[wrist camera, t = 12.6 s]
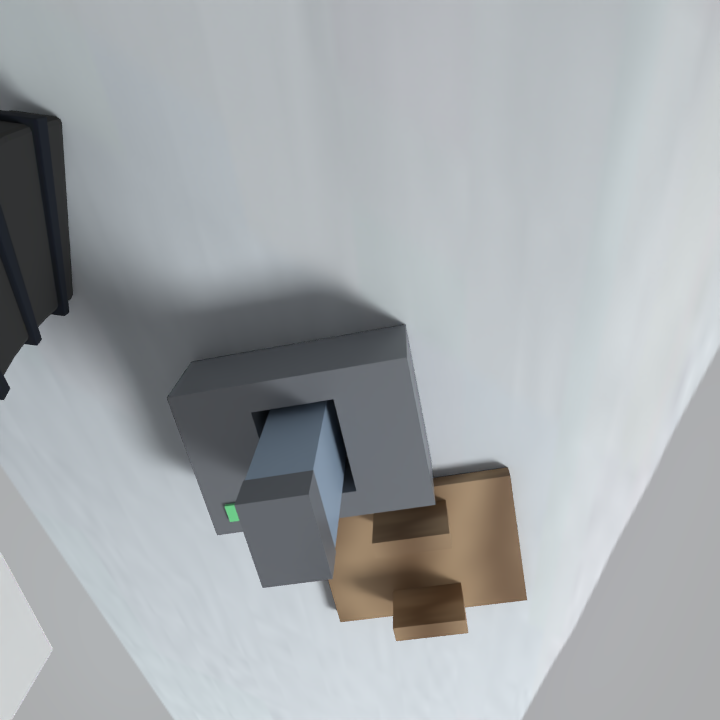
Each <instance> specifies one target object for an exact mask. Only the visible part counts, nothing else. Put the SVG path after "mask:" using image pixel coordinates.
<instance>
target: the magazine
mask: <svg viewBox="0 0 720 720" xmlns="http://www.w3.org/2000/svg"><path fill="white" fill-rule="evenodd" d="M72 295H73V289H72V274H71V258H70V243H69V227H68V212H67V196H66V181H65V166H64V150H63V135H62V122H61V120H60V119H59V118H57V117H55V116H49V115H41V114H34V113H26V112H19V111H2V110H0V400H4V399H5V397H6V395H7V394H8V392H9V390H10V387H9V385H8V383H7V381H6V379H5V378H4V374H5V372H6V371H7V369H8V367H9V365H10V364H11V362H12V360H13V358H14V357H15V355H16V354H17V353H18V351H19V350H20V349H21V347H22V346H23V345H24V344H29V345H38V344H39V343H40V341H41V340H42V338H41V335H40V332H39V329H38V327H39V326H40V324H41V323H42V322H43V321H44V320H45V319H46V318H47V317H48V316H50V315H51V314H53V315H61V316H65V315H67V314H68V313H69V305H68V300H70V299H71V298H72Z"/></svg>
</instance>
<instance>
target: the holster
mask: <svg viewBox="0 0 720 720" xmlns="http://www.w3.org/2000/svg"><path fill="white" fill-rule="evenodd" d="M433 483H434V494H435V504H436V505H431V506H423V507H416V508H409V509H402V510H395V511H387V512H380V513H373V514H366V515H359V516H351V517H344V518H339V521H338V529H337V538H336V546H335V549H336V556H335V564H334V573H333V579H329V580H328V581H329V584H330V588H331V591H332V595H333V598H334V602H335V605H336V608H337V612H338V615H339V619H340V622H346V621H354V620H363V619H371V618H380V617H388V616H393V630H394V634H395V638H396V641H402V640H411V639H420V638H428V637H437V636H446V635H455V634H464V633H468V627H467V619H466V612H465V607H473V606H481V605H489V604H498V603H506V602H515V601H523V600H527V596H526V589H525V582H524V574H523V567H522V559H521V552H520V544H519V537H518V530H517V522H516V515H515V507H514V500H513V493H512V485H511V478H510V473H509V470H508V467H507V468H500V469H493V470H486V471H479V472H472V473H465V474H458V475H451V476H444V477H437V478H433Z"/></svg>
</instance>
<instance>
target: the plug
mask: <svg viewBox="0 0 720 720" xmlns="http://www.w3.org/2000/svg"><path fill="white" fill-rule="evenodd" d="M346 455H347V451H346V447H345V443H344V439H343V435H342V431H341V427H340V423H339V419H338V415H337V411H336V407H335V403H334V399H331V400H325V401H319V402H313V403H307V404H301V405H294V406H288V407H282V408H276V409H270V412H269V414H268V417H267V420H266V423H265V425H264V428H263V431H262V434H261V437H260V439H259V442H258V445H257V448H256V450H255V453H254V456H253V459H252V462H251V464H250V467H249V470H248V473H247V476H246V478H245V480H244V481H243V482H242V485H241V488H240V491H239V493H238V496H237V499H236V502H235V505H234V506H235V509H236V512H237V515H238V518H239V521H240V524H241V526H242V529H243V532H244V535H245V538H246V541H247V544H248V547H249V550H250V553H251V556H252V558H253V561H254V564H255V567H256V570H257V573H258V576H259V579H260V582H261V585H262V587H263V588H266V587H274V586H281V585H289V584H297V583H305V582H313V581H321V580H329V579H333V573H334V564H335V556H336V549H335V546H336V538H337V529H338V521H339V513H340V505H341V496H342V488H343V480H344V472H345V463H346Z"/></svg>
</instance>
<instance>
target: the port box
mask: <svg viewBox="0 0 720 720" xmlns="http://www.w3.org/2000/svg"><path fill="white" fill-rule="evenodd" d="M331 399H334V403H335V407H336V411H337V415H338V419H339V423H340V427H341V431H342V435H343V439H344V443H345V447H346V451H347V455H346V463H345V472H344V480H343V488H342V496H341V505H340V513H339V518H344V517H351V516H359V515H366V514H373V513H380V512H387V511H395V510H402V509H409V508H416V507H423V506H431V505H436V504H435V494H434V483H433V473H432V462H431V456H430V451H429V445H428V440H427V435H426V430H425V424H424V419H423V414H422V409H421V403H420V398H419V393H418V388H417V382H416V377H415V372H414V367H413V361H412V356H411V351H410V346H409V340H408V335H407V330H406V325H400V326H394V327H388V328H383V329H377V330H371V331H365V332H360V333H354V334H348V335H343V336H337V337H331V338H325V339H320V340H314V341H308V342H303V343H297V344H291V345H285V346H280V347H274V348H268V349H263V350H257V351H251V352H245V353H240V354H234V355H228V356H223V357H217V358H211V359H205V360H200V361H194V362H191V363H190V365H189V366H188V368H187V369H186V371H185V372H184V374H183V375H182V377H181V378H180V379H179V381H178V382H177V384H176V385H175V387H174V388H173V390H172V391H171V393H170V394H169V395H168V397H167V400H168V402H169V405H170V408H171V410H172V413H173V416H174V419H175V421H176V424H177V427H178V430H179V432H180V435H181V438H182V441H183V443H184V446H185V449H186V451H187V454H188V457H189V460H190V462H191V465H192V468H193V471H194V473H195V476H196V479H197V482H198V484H199V487H200V490H201V492H202V495H203V498H204V501H205V503H206V506H207V509H208V512H209V514H210V517H211V520H212V523H213V525H214V528H215V531H216V533H217V535H222V534H229V533H236V532H243V529H242V526H241V524H240V521H239V518H238V515H237V512H236V509H235V506H234V505H235V502H236V499H237V496H238V493H239V491H240V488H241V485H242V482H243V481H244V480H245V478H246V476H247V473H248V470H249V467H250V464H251V462H252V459H253V456H254V453H255V450H256V448H257V445H258V442H259V439H260V437H261V434H262V431H263V428H264V425H265V423H266V420H267V417H268V414H269V412H270V409H276V408H282V407H288V406H294V405H301V404H307V403H313V402H319V401H325V400H331Z"/></svg>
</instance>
